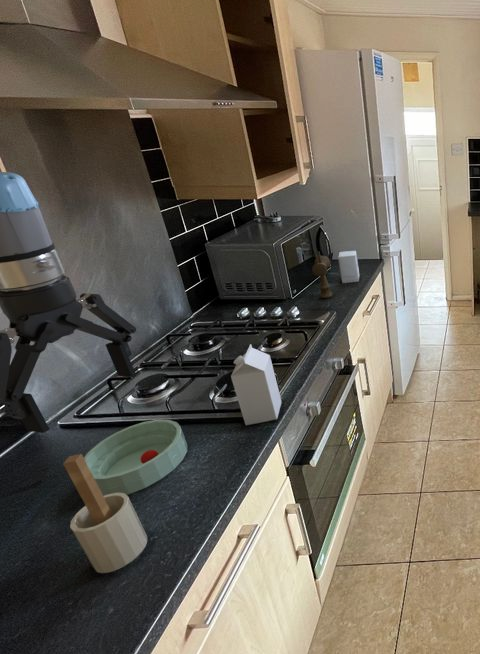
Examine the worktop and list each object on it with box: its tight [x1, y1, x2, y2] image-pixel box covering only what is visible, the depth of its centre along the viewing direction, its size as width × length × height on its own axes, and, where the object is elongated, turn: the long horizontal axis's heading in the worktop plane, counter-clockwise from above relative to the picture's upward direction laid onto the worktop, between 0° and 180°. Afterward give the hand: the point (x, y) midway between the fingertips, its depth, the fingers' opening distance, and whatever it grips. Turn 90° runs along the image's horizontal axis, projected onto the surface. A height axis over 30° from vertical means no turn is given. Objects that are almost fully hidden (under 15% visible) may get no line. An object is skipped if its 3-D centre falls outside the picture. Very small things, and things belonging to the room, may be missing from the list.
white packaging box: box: [337, 250, 360, 284], centre depth 187 cm, size 7×7×13 cm
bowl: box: [83, 419, 188, 496], centre depth 91 cm, size 17×17×6 cm
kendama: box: [311, 251, 334, 299], centre depth 169 cm, size 6×10×20 cm, turn 16°
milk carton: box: [230, 343, 283, 426], centre depth 104 cm, size 7×7×19 cm
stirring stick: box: [62, 453, 113, 525], centre depth 70 cm, size 2×2×22 cm
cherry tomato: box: [141, 450, 158, 464], centre depth 92 cm, size 3×3×3 cm
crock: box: [69, 493, 148, 574], centre depth 72 cm, size 7×7×11 cm
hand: (87, 400), depth 68 cm, fingers open, 13 cm apart
